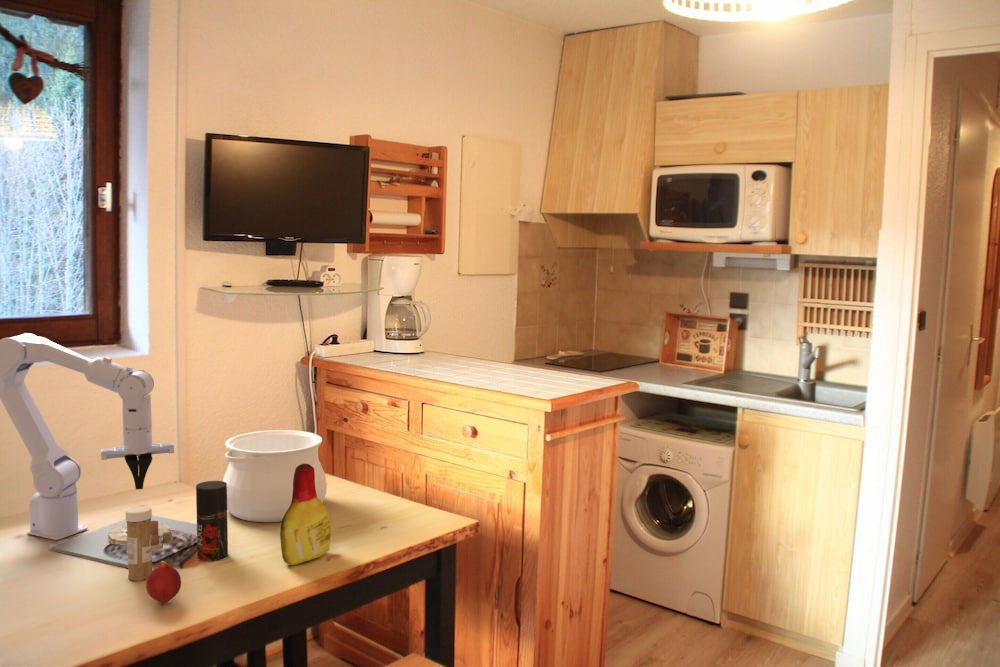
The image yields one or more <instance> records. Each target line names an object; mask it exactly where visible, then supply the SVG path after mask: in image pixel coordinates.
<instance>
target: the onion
mask: <svg viewBox="0 0 1000 667" xmlns="http://www.w3.org/2000/svg"><path fill="white" fill-rule="evenodd" d="M181 587H182V579H181V575H180V573H179V571H178V570H177V569H176V568H175V567H173V566H172V565H170V564H168V562H166V561H165V560H160V562H159V563H158V566H156V567H154V569H153V571H152V572H151V573H150V575H149V576H148V578H147V579H146V582H145V588H146V593H147V595H148V596H149V597H150V598H151V599H153V600H154V601H156V602H158V603H159V604H160V605H167V604H168V603H169V602H170V601H172V600H173V599H174V598H175V597H176V596H177V595H178V593H179V592H180V590H181Z"/></svg>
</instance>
